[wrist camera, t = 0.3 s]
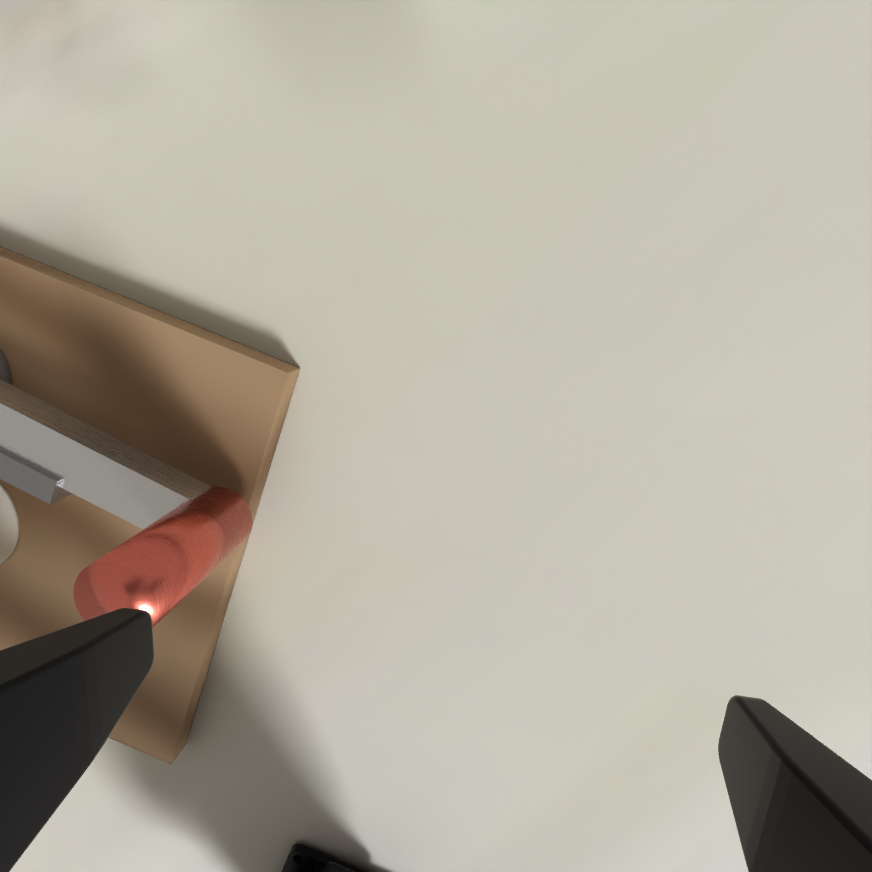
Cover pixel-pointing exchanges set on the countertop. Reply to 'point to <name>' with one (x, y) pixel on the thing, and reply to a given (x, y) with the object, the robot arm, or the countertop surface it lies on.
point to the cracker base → (145, 430)
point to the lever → (121, 506)
